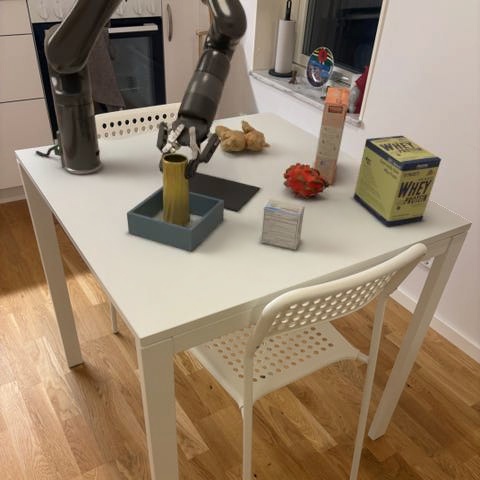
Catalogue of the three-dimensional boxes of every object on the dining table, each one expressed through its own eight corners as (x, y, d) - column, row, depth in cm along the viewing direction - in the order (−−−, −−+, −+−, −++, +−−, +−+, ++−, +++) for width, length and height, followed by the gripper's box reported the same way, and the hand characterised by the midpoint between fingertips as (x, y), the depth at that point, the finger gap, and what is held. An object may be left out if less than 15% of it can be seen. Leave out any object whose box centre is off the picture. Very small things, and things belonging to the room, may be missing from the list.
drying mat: (164, 192, 128) (164, 190, 128) (191, 172, 138) (191, 170, 138) (237, 211, 123) (237, 210, 122) (259, 189, 133) (259, 187, 132)
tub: (128, 233, 113) (126, 212, 109) (165, 204, 124) (164, 184, 120) (191, 251, 108) (191, 231, 105) (223, 220, 119) (224, 200, 116)
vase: (163, 212, 117) (160, 151, 108) (190, 213, 117) (190, 152, 108) (162, 226, 112) (159, 163, 103) (190, 226, 113) (190, 164, 104)
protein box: (387, 227, 121) (404, 163, 111) (352, 198, 131) (364, 137, 121) (423, 221, 124) (443, 158, 114) (386, 193, 135) (401, 133, 125)
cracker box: (333, 186, 136) (348, 104, 123) (311, 182, 137) (323, 101, 124) (336, 165, 147) (350, 88, 134) (315, 162, 148) (327, 85, 134)
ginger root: (271, 156, 146) (266, 128, 141) (216, 166, 148) (210, 139, 143) (269, 138, 158) (265, 111, 153) (219, 147, 160) (213, 121, 155)
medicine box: (300, 241, 114) (305, 205, 108) (295, 251, 110) (300, 215, 105) (266, 233, 115) (269, 198, 110) (260, 243, 112) (263, 207, 107)
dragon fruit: (278, 193, 135) (321, 209, 133) (274, 186, 127) (319, 203, 125) (291, 162, 134) (334, 178, 132) (287, 153, 126) (333, 170, 124)
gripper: (236, 116, 110) (210, 190, 109) (178, 104, 114) (152, 175, 113) (227, 97, 103) (199, 175, 102) (165, 84, 107) (137, 160, 106)
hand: (174, 174), depth 108 cm, fingers closed on vase, 5 cm apart
